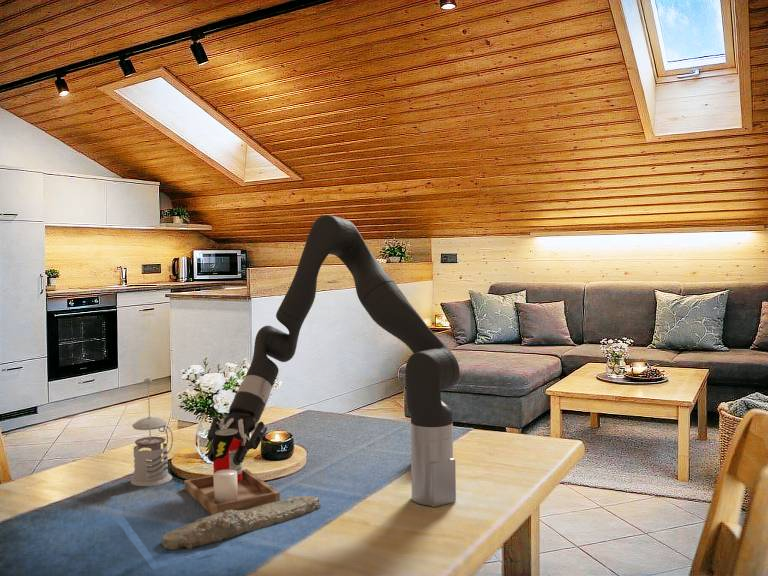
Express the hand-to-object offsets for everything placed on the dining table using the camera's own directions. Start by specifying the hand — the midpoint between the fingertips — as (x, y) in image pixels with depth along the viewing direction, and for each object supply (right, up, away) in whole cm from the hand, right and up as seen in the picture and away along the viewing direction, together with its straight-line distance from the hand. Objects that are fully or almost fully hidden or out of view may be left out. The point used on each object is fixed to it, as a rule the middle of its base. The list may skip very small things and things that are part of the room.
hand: (223, 461), depth 165 cm
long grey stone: (+9, -10, -18) cm, 22 cm away
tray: (+2, -8, -1) cm, 8 cm away
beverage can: (+1, -6, +2) cm, 6 cm away
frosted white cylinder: (+2, -8, -7) cm, 11 cm away
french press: (-20, -8, +15) cm, 26 cm away
